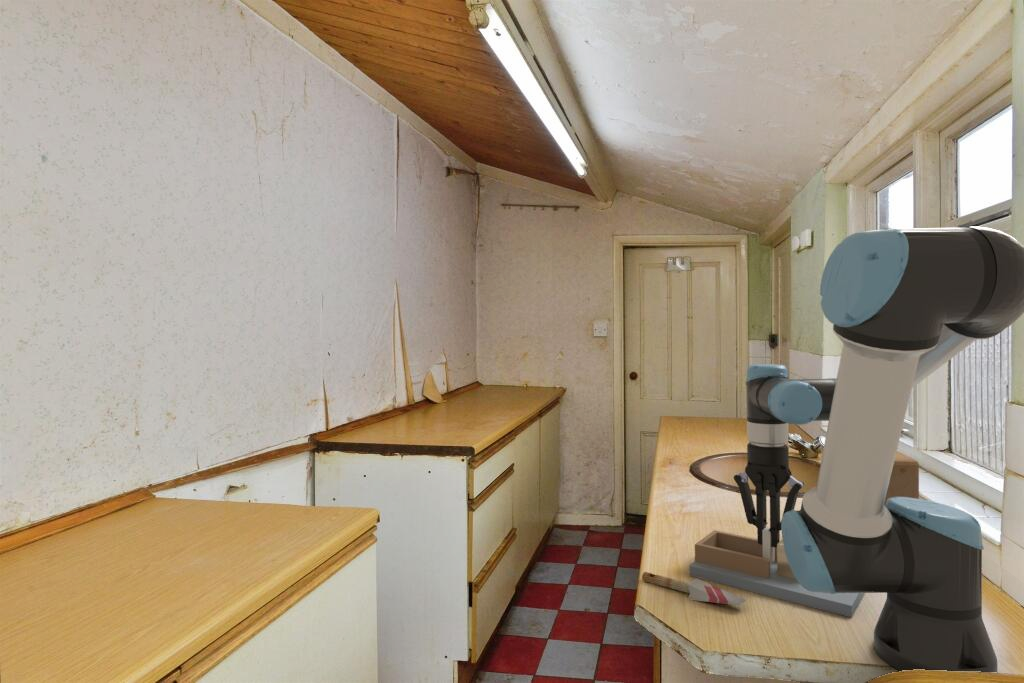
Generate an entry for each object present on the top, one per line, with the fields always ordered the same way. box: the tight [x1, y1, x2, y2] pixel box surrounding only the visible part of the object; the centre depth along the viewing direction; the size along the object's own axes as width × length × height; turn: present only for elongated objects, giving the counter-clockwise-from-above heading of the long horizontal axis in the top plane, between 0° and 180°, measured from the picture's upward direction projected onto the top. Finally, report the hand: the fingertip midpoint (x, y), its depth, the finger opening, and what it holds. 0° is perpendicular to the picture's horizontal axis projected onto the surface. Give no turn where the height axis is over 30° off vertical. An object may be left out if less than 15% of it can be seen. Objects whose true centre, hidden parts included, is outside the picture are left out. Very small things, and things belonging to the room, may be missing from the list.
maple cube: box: [777, 539, 797, 580], centre depth 117 cm, size 5×5×6 cm
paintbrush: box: [641, 571, 747, 606], centre depth 114 cm, size 4×3×20 cm
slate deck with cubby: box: [689, 529, 866, 618], centre depth 120 cm, size 20×29×6 cm
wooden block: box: [884, 451, 920, 506], centre depth 137 cm, size 10×10×20 cm
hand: (768, 561), depth 120 cm, fingers closed
